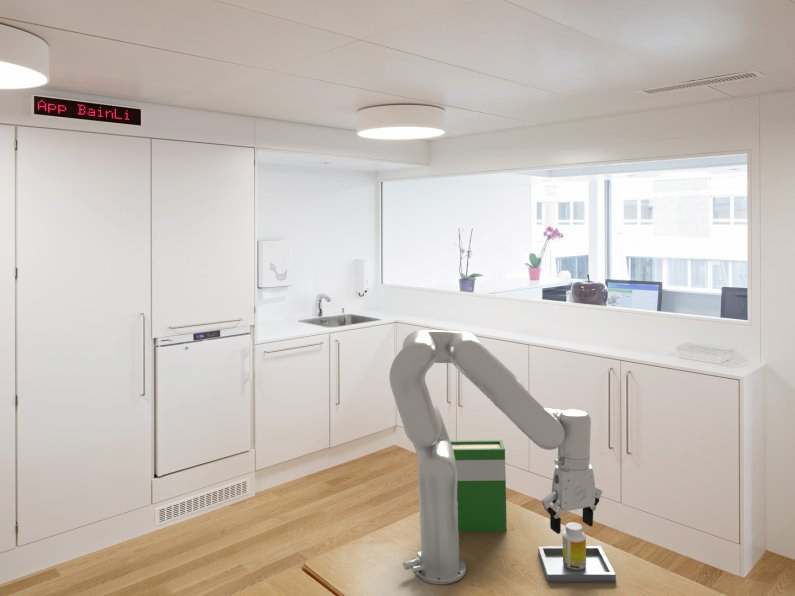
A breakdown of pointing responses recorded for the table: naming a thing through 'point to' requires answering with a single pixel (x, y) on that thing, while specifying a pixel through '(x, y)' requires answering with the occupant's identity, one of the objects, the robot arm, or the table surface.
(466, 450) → the hardback book
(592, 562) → the tray
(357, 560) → the table surface
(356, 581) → the table surface
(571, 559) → the supplement bottle
